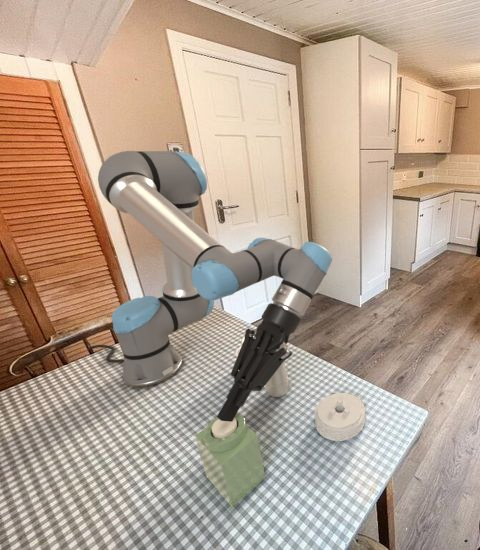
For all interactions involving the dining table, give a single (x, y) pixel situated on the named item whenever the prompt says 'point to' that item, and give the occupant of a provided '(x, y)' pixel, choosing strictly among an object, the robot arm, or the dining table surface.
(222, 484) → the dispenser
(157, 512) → the dining table surface
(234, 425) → the beige short cylinder
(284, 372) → the plastic bottle
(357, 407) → the lid
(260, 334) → the robot arm
